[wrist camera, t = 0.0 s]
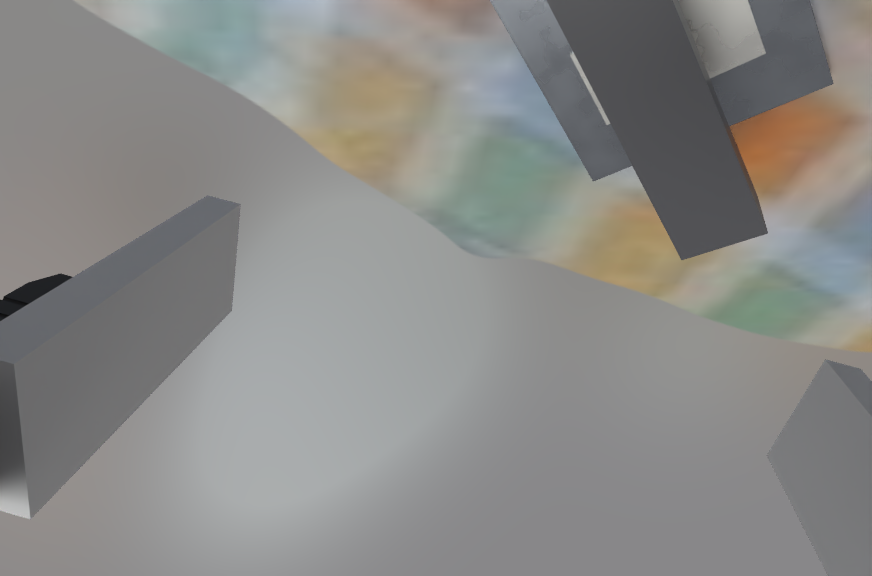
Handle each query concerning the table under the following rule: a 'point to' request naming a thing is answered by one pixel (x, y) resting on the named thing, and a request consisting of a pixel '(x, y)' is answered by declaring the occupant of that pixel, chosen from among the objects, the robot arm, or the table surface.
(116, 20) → the table surface
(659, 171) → the cable arm
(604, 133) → the label panel
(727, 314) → the table surface
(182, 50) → the table surface
